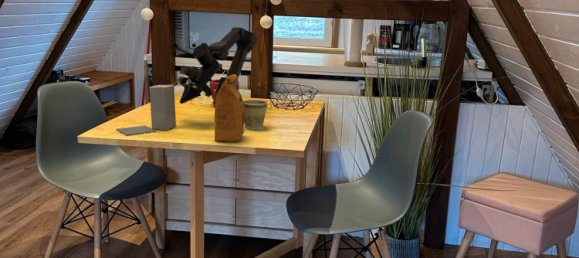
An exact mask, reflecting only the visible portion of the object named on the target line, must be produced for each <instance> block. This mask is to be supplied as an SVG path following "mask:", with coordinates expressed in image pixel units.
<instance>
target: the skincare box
mask: <svg viewBox="0 0 579 258" xmlns="http://www.w3.org/2000/svg"><path fill="white" fill-rule="evenodd" d="M148 89H149V102H150V103H149V104H150V118H151V129H154V130H163V131H169V130H171V129H173V128H174V127H176V126H177V122H176V121H177V120H176V100H175V85H174V84H157V85H153V86H149V87H148Z"/></svg>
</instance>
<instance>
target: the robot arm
mask: <svg viewBox="0 0 579 258" xmlns="http://www.w3.org/2000/svg"><path fill="white" fill-rule="evenodd" d="M257 42H258V37H257V35H256V33H254V32H253V31H249V30H247V29H245V28H243V27H238V26H237V27H236V26H235V27H234V26H233V27H232V28H231V30H230V31H229V32H228V33H227V34H226V35H225V36H224V37H223V38H222V39H220V40H219V41H218V42H213V43H211V44H209V45H208V43H207V42H201V43H200V44H199V45H197V46H196V47H195V48H194V49H193V51H192V54H193V56H194V57H195V59H196V61H197V62H198V63H199V65H200V66H201V67H200V68H198V67H197V66H194V65H191V67H190V66H188V65H182V66H181V68H180V71H179V74H180V75H183V76H179V77H178V79H177V80H176V81H177V82H178V83H179V84H180V85H181V86H182V87H183V91H182V94H181V96H180V99H179V101H178V102H179V104H181V105H182V104H185V103H187V102H190V101H191V100H193V99H197V98H199V97H201V96H202V95H201V94H202V92H203V93H204V96H205V97H207V98H210V97H212V96H211V95H212V89H211V88H210V85H208V83H210V82H211V81H212V80H213V77H214V76H215V75H216V73H217V72H218V71H219V72H223V64H221V63H220V62H219V61H225V60H226V59H227V58H228V56H229V54H230V53H229V51H230V50H231V48H233V47H234V46H235V45H236V50H235V53H234V55H233V59H232V60H231V63H230V66H229V69H228V71H227V74H226V76H224V77H220V78H219V79H220V81H219V83H218V85H217V86H218V87H217V89H216V92H217V94H218V91H219V89H220V88H221V86H222V85H223V83H224V82H225V79H226V77H228V76H231V75H233V74H235V75H236V76H237V77H238V78H237V79H236V80H235V81H234V82H235V85H236V88H237V90H238V89H239V90H238V91H239V93H240V95H241V96H242V94H241V92H240V85H239V86H238V82H237V81H239V77H240V75H241V72H242V69H243V67H244V64H245V61H246V59H247V56H248V54H249V53H250V52H251V51H253V50H254V48H255V46H256V44H257Z"/></svg>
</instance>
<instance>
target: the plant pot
mask: <svg viewBox="0 0 579 258" xmlns="http://www.w3.org/2000/svg"><path fill="white" fill-rule="evenodd" d="M219 81H220V78H219V79H212V81H211V82H209V87H210V88H211V89H212V95H211V96H210V97H211V98H212V105H213V106H214V107H215V104H216V97H217V92H216V89H217V87H218V86H217V85H218V83H219ZM237 82H238V86H239V87H240V81H239V80H238V81H237ZM238 90H239V91H240V88H239V89H238Z"/></svg>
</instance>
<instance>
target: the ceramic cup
mask: <svg viewBox="0 0 579 258" xmlns="http://www.w3.org/2000/svg"><path fill="white" fill-rule="evenodd" d="M243 103H244V129H246V130H250V131H259V130H262V129H263V127H264V122H265V117H266V113H267V109H268V101H266V100H260V99H244V100H243Z"/></svg>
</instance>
